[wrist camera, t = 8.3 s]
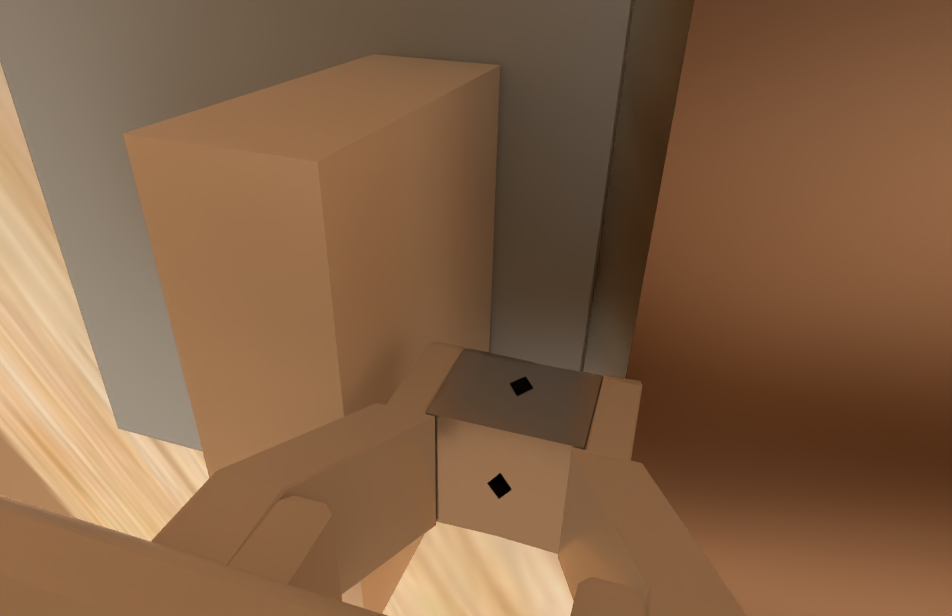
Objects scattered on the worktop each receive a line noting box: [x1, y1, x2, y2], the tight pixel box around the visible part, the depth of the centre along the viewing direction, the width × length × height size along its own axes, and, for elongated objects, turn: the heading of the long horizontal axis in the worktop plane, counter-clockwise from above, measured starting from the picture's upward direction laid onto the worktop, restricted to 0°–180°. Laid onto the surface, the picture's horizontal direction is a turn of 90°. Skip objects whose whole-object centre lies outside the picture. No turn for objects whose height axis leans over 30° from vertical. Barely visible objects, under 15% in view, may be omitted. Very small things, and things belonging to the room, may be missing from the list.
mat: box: [0, 0, 634, 451], centre depth 15 cm, size 15×14×1 cm
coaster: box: [123, 54, 500, 614], centre depth 11 cm, size 8×6×2 cm
